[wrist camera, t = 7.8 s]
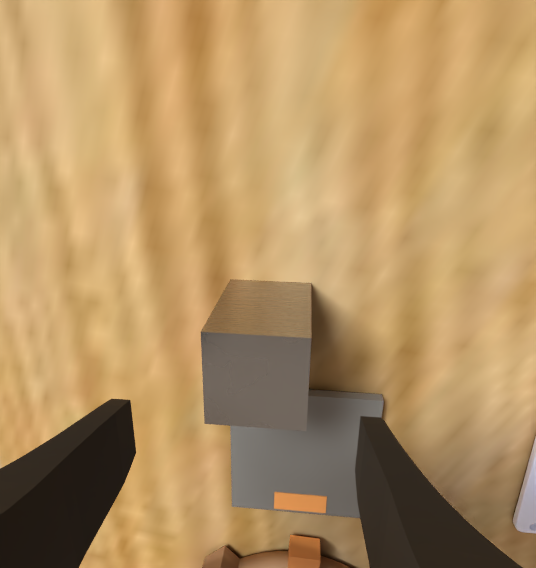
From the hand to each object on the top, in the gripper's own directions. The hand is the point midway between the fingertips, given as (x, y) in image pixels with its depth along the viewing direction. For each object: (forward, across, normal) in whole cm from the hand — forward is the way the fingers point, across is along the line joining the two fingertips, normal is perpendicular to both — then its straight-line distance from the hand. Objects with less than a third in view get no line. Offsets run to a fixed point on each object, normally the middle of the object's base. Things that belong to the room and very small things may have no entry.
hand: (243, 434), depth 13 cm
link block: (+9, 0, 0) cm, 9 cm away
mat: (+9, -2, +8) cm, 12 cm away
